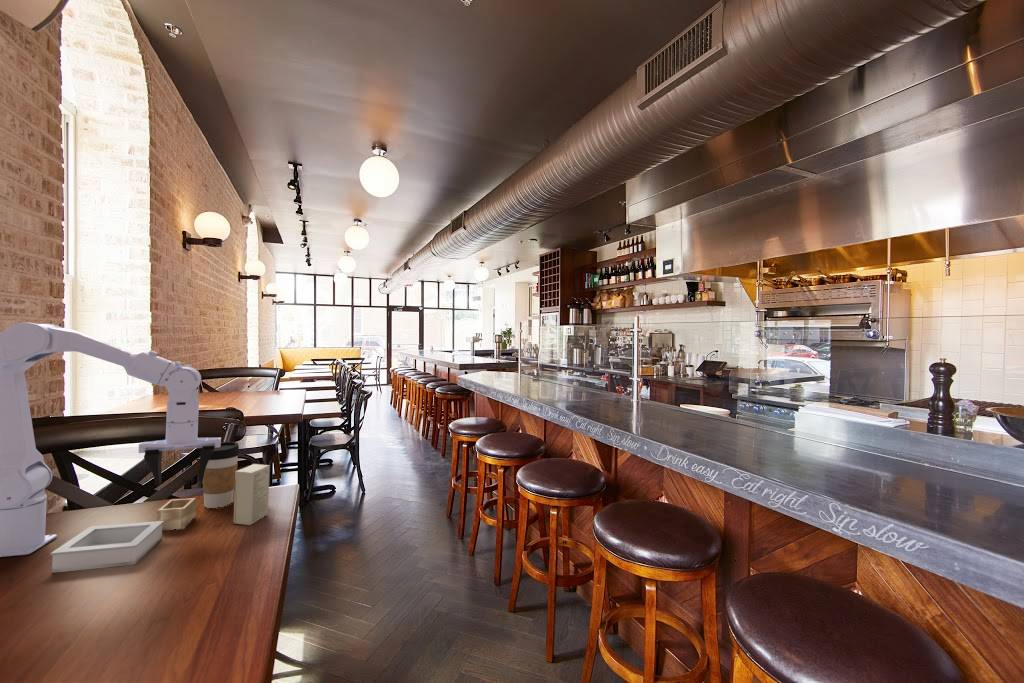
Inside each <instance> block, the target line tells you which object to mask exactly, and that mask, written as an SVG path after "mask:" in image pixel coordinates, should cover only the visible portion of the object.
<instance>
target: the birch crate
mask: <svg viewBox="0 0 1024 683" xmlns="http://www.w3.org/2000/svg"><path fill="white" fill-rule="evenodd" d="M196 509H197V498H196V497H191V498H178V499H177V498H175V499H170V500H169V501H167V502H166V503H165V504H163V505H162V506H161V507H159V508H158V509H157V516H156V517H157V518H156V521H164V523H163V524H162V532H164V531H172V530H173V531H175V530H174V529H176V530H184V529H186V527H188V525H190V523H191V522H192V521H193V520H194V519H195V518H196ZM193 518H194V519H193ZM192 519H193V520H192ZM191 520H192V521H191Z"/></svg>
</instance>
